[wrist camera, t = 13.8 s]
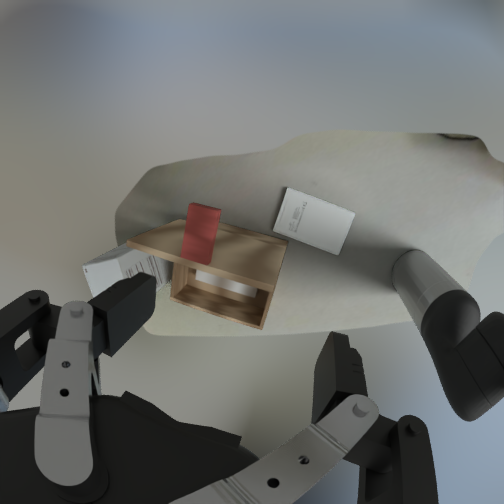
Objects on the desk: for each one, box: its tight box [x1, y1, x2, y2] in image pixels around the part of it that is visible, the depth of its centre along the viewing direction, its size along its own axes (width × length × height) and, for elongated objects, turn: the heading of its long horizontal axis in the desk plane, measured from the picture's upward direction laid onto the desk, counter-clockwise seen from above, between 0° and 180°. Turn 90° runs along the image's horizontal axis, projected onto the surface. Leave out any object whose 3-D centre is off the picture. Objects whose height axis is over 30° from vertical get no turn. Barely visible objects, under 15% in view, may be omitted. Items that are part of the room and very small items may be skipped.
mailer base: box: [170, 220, 288, 330], centre depth 50 cm, size 18×15×7 cm
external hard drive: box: [273, 187, 355, 255], centre depth 47 cm, size 2×8×12 cm
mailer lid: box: [126, 203, 286, 292], centre depth 36 cm, size 18×15×7 cm
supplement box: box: [82, 242, 174, 298], centre depth 48 cm, size 10×9×17 cm
